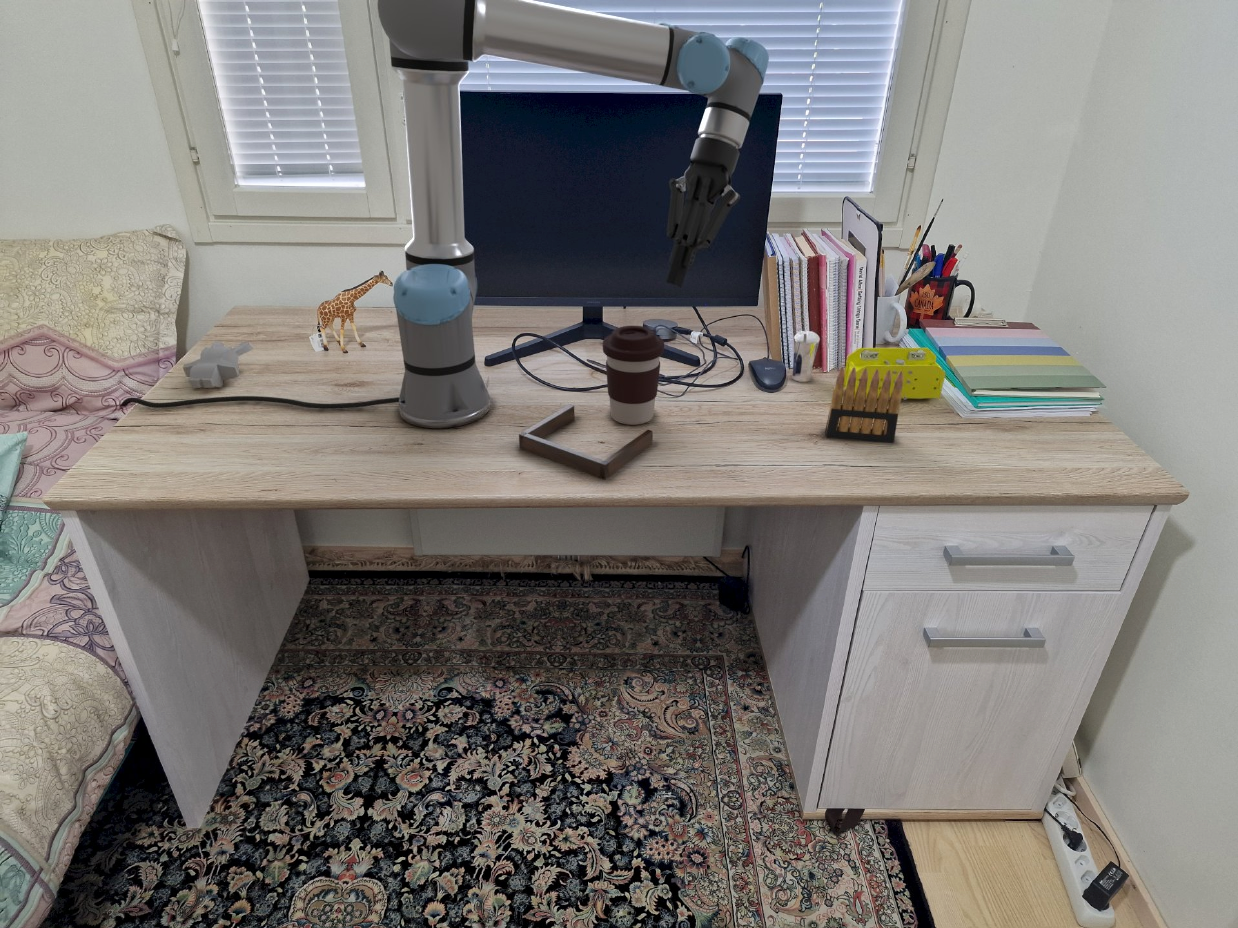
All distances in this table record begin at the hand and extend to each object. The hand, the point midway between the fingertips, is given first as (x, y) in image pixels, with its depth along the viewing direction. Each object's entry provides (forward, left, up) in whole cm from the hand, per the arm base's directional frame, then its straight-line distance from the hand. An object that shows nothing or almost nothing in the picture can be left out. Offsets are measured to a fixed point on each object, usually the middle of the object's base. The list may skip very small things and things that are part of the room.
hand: (673, 284), depth 129 cm
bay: (-6, -25, -19) cm, 32 cm away
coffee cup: (-3, -13, -20) cm, 24 cm away
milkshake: (+22, +13, -20) cm, 32 cm away
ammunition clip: (+34, -7, -20) cm, 40 cm away
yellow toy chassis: (+38, +11, -20) cm, 44 cm away
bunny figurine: (-80, -23, -20) cm, 86 cm away
